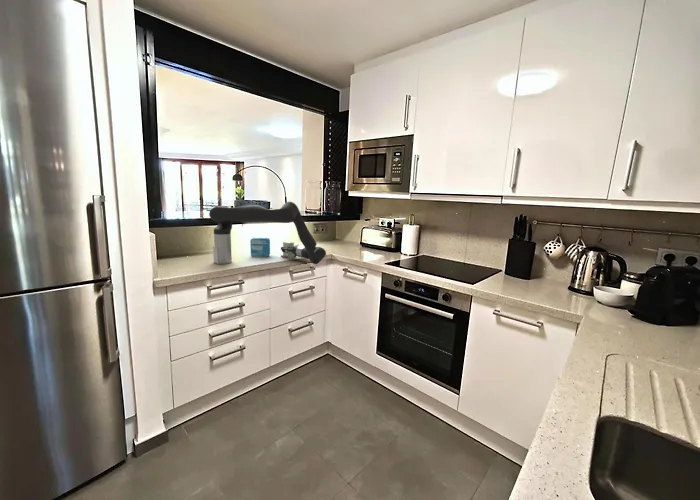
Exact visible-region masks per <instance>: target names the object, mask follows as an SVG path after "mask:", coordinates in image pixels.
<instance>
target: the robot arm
mask: <svg viewBox="0 0 700 500" xmlns="http://www.w3.org/2000/svg"><path fill="white" fill-rule="evenodd" d="M208 214H209V215H208V216H209V218H210V219H211V220H212V222H215V223H217V225H216V226H215V228H213V243H214V244H213V245H214V246H212V252H213V254H212V256H213V263H215V264H217V265H224V264H230V263H232V262H233V261H232V258H233V257H232V232H231V231H232V228H233V222H234V221H235V222H243V223H246V222H247V223H258V222H262V223H263V222H264V223H266V222H267V223H269V222H272V223H281V224H282V223H283V224H287V223H288V224H289V223H293V224H294V226H295V229H296V232H297V236H298V238H299V240H300V242H301V243H302V244H294V247H283V246H281V247H280V251H281V252H282V253H283V252H285V253H288V252H290V253H293V254H294V255H295V256H296V258H297V257H298V258H303V259H306V260H309V261H310V262H311V263H312V264H313V265H317V264H319V263H320V262H321V261H322V260H323V259H324V258H326V255H327V252H326V251H327V250H325V248H323V247H321V246H317V242H316V240H315V238H314V237H313V235H312V234H311V232H310V231H309V228H308V227H307V225H306V222H305V221H304V219H303V217H302V216H303V215H302V214H301V211H300V209H299V207H298V206H297V204H296V203H295V202H293V201H287V202H285V203H283V205H282V206H281V207H280V208H275V209H274V208H273V209H268V208H266V207H264V206H262V205H255V204H253V205H249V204H248V205H241V206H235V207H229V206H226V205H216V206H214V207H212V208H211V209H210V211H209V212H208ZM286 248H287V249H286ZM289 248H290V249H289Z"/></svg>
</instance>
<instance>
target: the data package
mask: <svg viewBox="0 0 700 500" xmlns="http://www.w3.org/2000/svg"><path fill="white" fill-rule="evenodd" d="M249 241H250V242H249V243H250V256H251V257H254V258H256V257H259V258H266V257H267V258H268V257H270V254H271V240H270V238H268V237H252V238H251V239H249Z"/></svg>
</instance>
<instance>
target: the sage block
mask: <svg viewBox="0 0 700 500" xmlns="http://www.w3.org/2000/svg"><path fill="white" fill-rule="evenodd" d="M294 246H295V242H292V241H283V242H282V247H294ZM286 249H287V248H286ZM289 249H290V248H289ZM282 255H283V256H287V257H288V258H287V259H293V258H292V257H294V254H293V253H290V252H288V253H285V252H282ZM294 258H295V257H294Z"/></svg>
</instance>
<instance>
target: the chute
mask: <svg viewBox="0 0 700 500" xmlns="http://www.w3.org/2000/svg"><path fill="white" fill-rule="evenodd" d="M280 257H281V258H283V259H286V258H287V259H289V258H288V257H287V256H283V254H281V255H280ZM294 258H297V256H295V255H294Z"/></svg>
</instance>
